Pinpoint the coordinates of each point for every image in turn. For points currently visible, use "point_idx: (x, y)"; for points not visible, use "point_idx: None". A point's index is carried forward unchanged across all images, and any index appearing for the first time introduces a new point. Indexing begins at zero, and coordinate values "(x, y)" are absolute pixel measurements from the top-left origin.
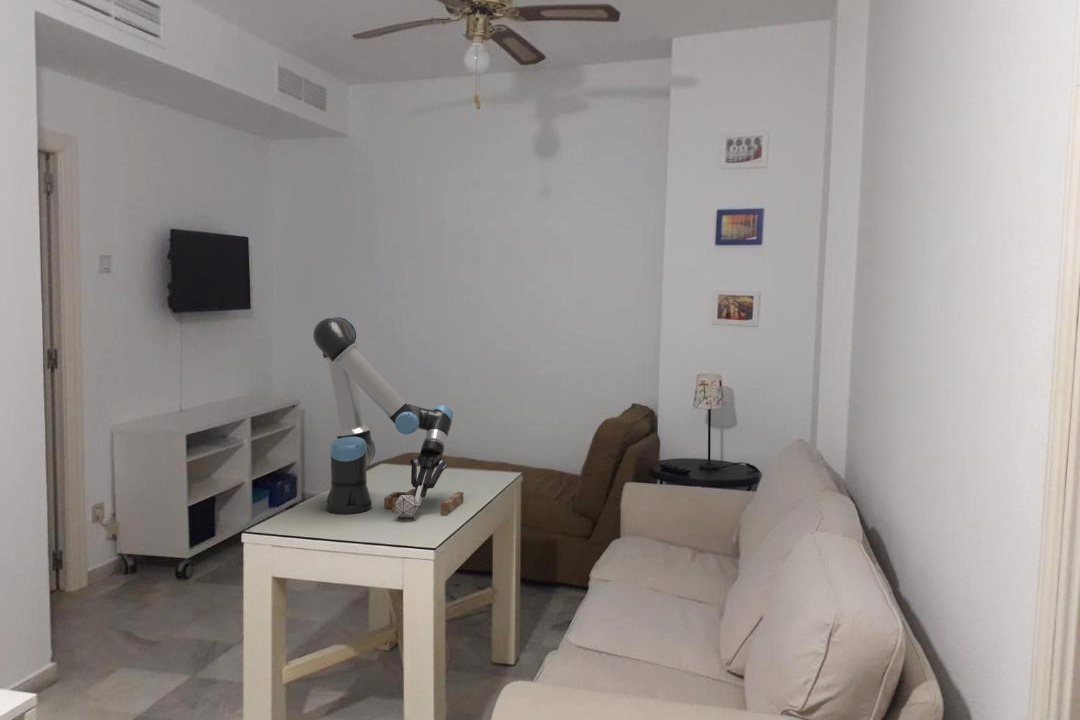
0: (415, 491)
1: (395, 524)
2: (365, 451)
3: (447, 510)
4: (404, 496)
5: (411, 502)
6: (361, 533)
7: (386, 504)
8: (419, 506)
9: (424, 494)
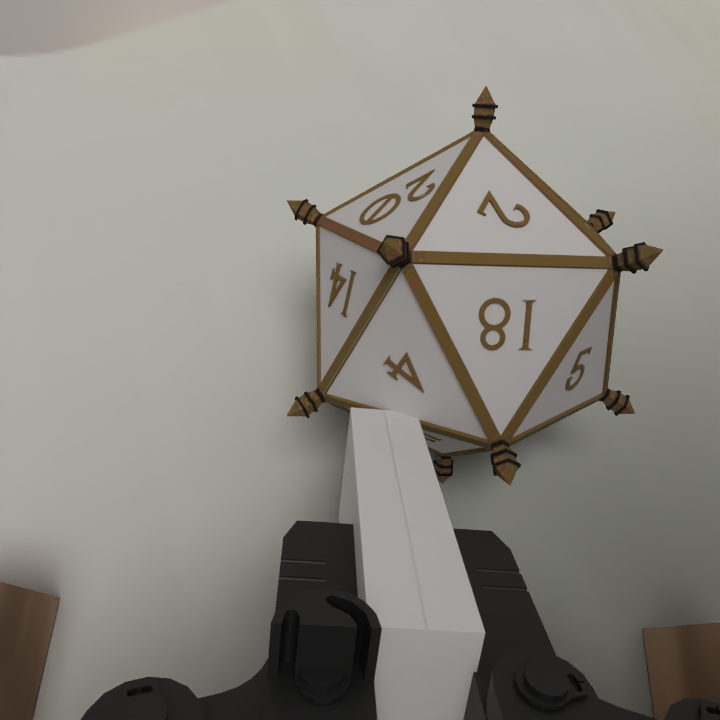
0: (492, 576)
1: None
2: None
3: None
4: (521, 205)
5: (375, 194)
6: (588, 3)
7: None
8: (309, 392)
9: (282, 546)
